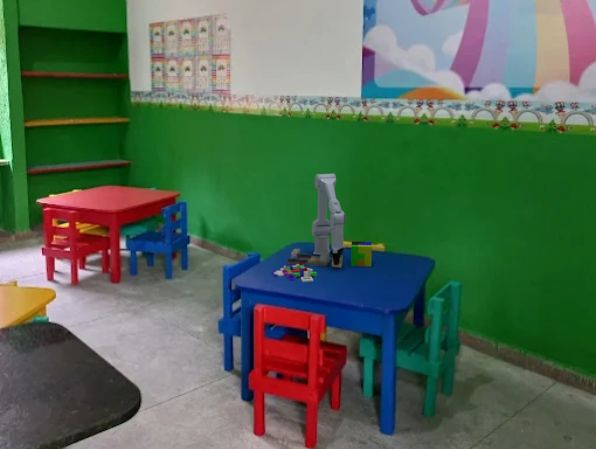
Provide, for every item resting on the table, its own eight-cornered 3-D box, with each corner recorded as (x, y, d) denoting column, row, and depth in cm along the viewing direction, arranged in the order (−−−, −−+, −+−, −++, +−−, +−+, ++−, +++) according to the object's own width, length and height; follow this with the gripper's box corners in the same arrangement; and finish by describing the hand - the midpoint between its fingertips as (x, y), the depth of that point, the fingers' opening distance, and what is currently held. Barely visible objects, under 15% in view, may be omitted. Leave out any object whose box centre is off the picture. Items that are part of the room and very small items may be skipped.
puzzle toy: (370, 260, 317) (371, 241, 314) (371, 266, 307) (371, 247, 305) (351, 260, 318) (351, 241, 315) (351, 265, 308) (351, 246, 306)
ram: (294, 255, 319) (294, 248, 319) (300, 256, 319) (300, 248, 318) (291, 260, 312) (291, 252, 311) (296, 260, 311) (296, 253, 310)
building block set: (269, 268, 306) (269, 259, 305) (310, 266, 309) (310, 257, 308) (275, 284, 282) (275, 275, 281) (319, 282, 285) (319, 272, 284)
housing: (333, 264, 310) (333, 254, 309) (342, 264, 309) (342, 255, 308) (331, 267, 306) (332, 257, 304) (340, 267, 305) (341, 257, 303)
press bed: (292, 257, 322) (292, 247, 321) (330, 259, 318) (330, 249, 316) (287, 264, 311) (287, 253, 309) (326, 266, 306) (326, 256, 305)
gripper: (343, 240, 296) (342, 268, 299) (347, 233, 310) (347, 259, 313) (328, 240, 297) (328, 267, 301) (333, 232, 311) (333, 258, 314)
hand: (337, 263), depth 307 cm, fingers closed on housing, 4 cm apart
